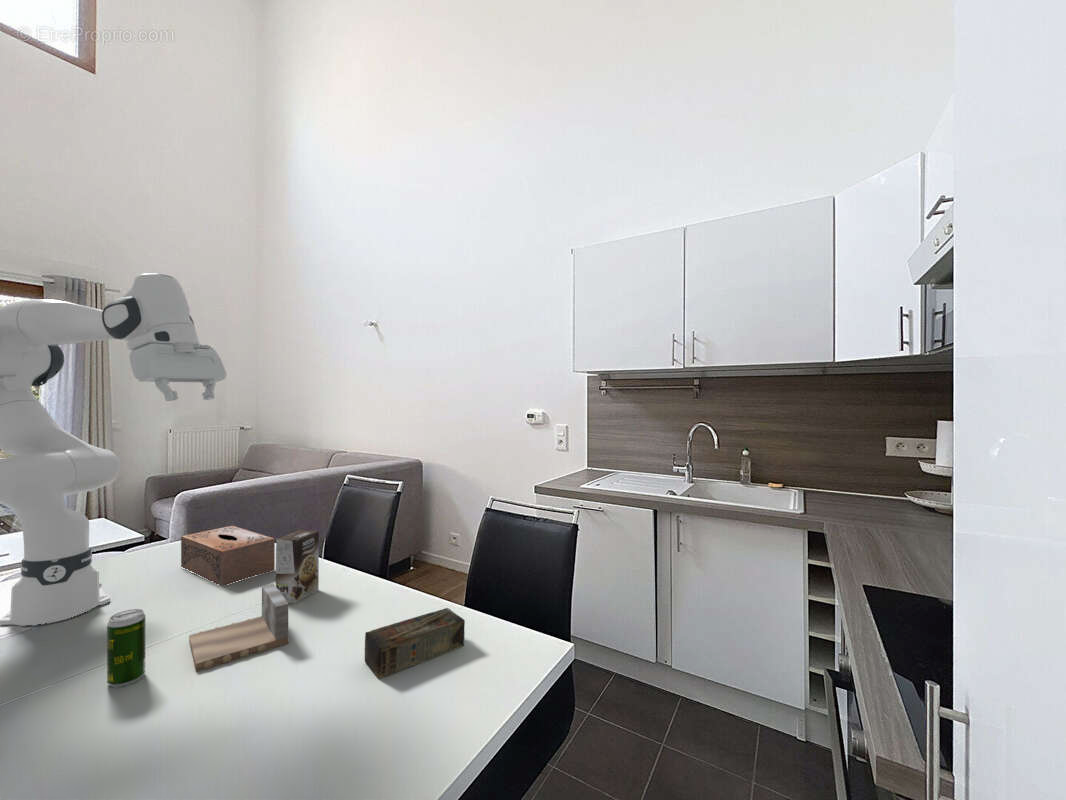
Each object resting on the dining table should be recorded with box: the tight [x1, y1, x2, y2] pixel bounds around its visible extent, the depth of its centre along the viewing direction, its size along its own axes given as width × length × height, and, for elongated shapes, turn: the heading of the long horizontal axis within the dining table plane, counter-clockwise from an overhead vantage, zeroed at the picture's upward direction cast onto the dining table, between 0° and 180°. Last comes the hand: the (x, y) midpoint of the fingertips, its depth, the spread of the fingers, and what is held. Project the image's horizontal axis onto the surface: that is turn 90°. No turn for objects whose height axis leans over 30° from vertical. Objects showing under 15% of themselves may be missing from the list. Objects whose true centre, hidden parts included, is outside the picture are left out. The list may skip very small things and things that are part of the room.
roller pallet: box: [188, 583, 289, 672], centre depth 100 cm, size 15×16×8 cm
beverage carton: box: [364, 607, 466, 680], centre depth 96 cm, size 8×19×7 cm, turn 130°
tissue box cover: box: [180, 525, 276, 587], centre depth 142 cm, size 26×14×10 cm, turn 57°
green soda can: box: [106, 608, 146, 688], centre depth 87 cm, size 5×5×12 cm
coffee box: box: [275, 529, 320, 604], centre depth 124 cm, size 9×6×16 cm
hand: (191, 399), depth 107 cm, fingers open, 8 cm apart
